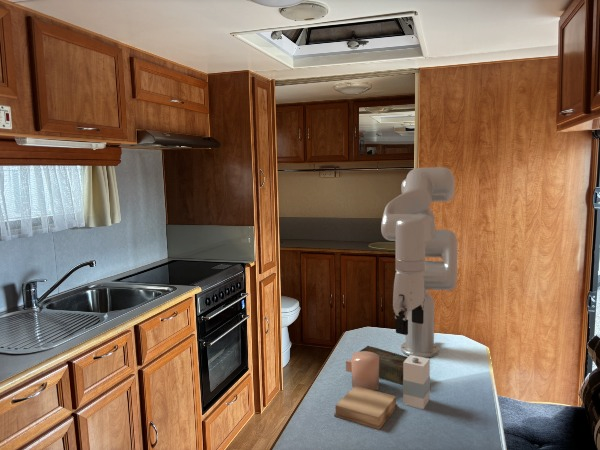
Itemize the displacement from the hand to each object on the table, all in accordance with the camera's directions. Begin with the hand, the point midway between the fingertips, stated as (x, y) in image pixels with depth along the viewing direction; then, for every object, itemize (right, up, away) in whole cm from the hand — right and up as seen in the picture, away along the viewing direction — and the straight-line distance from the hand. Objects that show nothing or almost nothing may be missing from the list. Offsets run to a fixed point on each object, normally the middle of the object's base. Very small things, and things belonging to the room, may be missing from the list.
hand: (409, 328), depth 126 cm
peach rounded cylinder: (-11, -20, +14) cm, 27 cm away
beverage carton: (-2, -19, +21) cm, 28 cm away
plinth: (-12, -22, 0) cm, 25 cm away
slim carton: (+3, -21, +4) cm, 22 cm away
